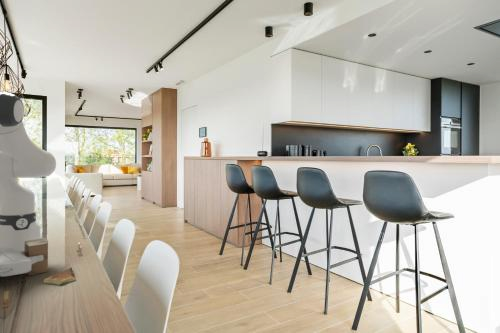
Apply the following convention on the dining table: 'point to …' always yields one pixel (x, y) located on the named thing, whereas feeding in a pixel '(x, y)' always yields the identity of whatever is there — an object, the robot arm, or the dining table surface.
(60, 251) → the dining table surface
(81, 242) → the dining table surface
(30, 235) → the robot arm
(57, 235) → the dining table surface
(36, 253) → the wooden block
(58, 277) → the shard
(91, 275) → the dining table surface
